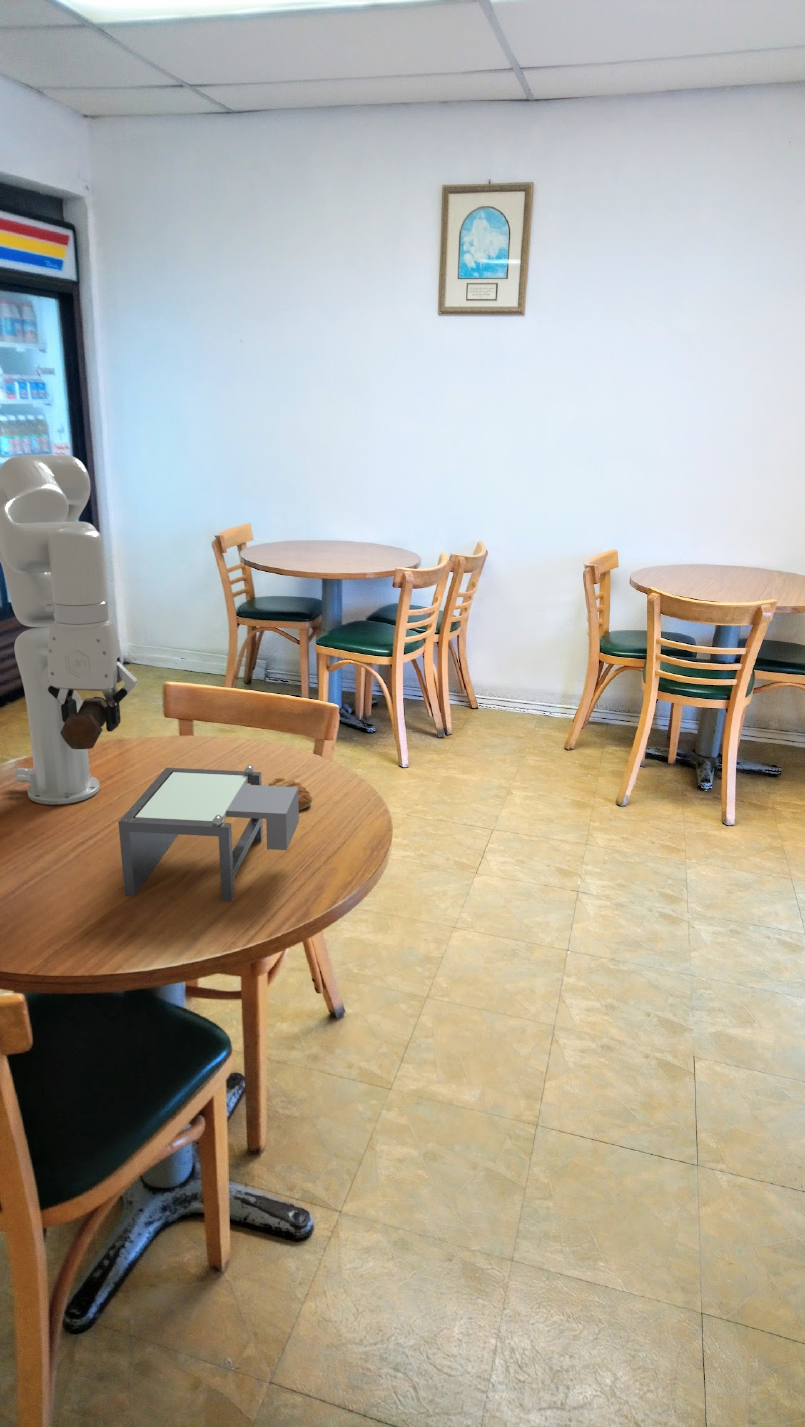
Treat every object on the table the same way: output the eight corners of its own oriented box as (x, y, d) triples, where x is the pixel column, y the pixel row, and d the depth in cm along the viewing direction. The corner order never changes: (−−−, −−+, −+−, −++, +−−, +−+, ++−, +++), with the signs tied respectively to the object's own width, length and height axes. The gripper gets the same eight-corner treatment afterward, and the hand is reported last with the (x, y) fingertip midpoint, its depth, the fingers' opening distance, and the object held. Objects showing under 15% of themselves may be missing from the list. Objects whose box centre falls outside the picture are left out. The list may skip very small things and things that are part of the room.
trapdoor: (138, 854, 128) (135, 817, 126) (175, 805, 144) (173, 772, 142) (281, 861, 126) (281, 824, 125) (302, 812, 143) (302, 778, 141)
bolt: (105, 726, 142) (87, 757, 127) (76, 712, 140) (54, 742, 126) (122, 696, 141) (105, 724, 126) (92, 682, 139) (72, 708, 125)
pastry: (321, 804, 161) (321, 786, 160) (294, 816, 156) (293, 796, 155) (287, 790, 167) (287, 772, 166) (260, 801, 162) (259, 782, 161)
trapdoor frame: (124, 895, 128) (117, 814, 124) (170, 832, 148) (165, 760, 144) (231, 901, 127) (228, 819, 123) (263, 837, 147) (260, 765, 143)
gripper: (12, 616, 126) (26, 733, 132) (128, 620, 125) (137, 738, 130) (37, 606, 133) (49, 717, 139) (147, 610, 132) (155, 722, 138)
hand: (92, 726), depth 134 cm, fingers closed on bolt, 5 cm apart
